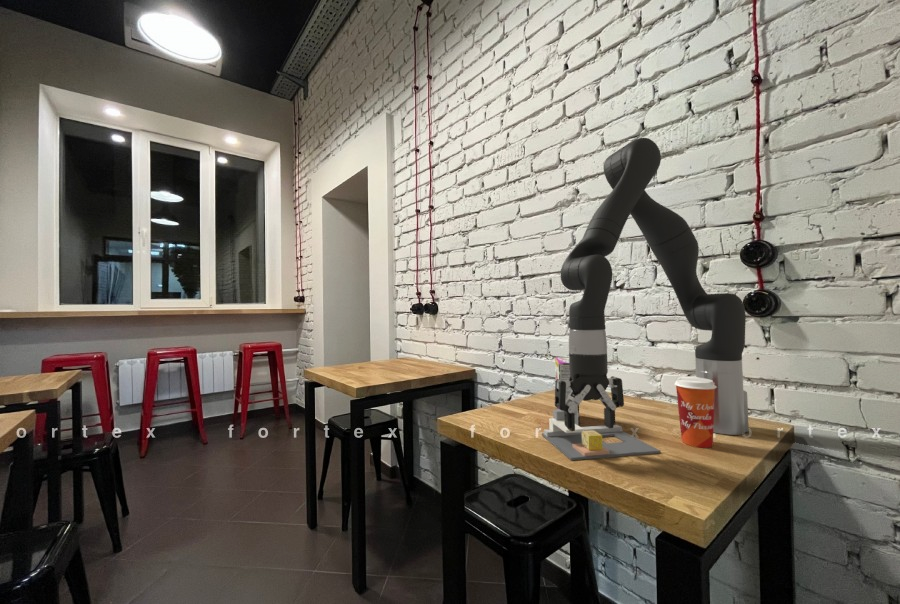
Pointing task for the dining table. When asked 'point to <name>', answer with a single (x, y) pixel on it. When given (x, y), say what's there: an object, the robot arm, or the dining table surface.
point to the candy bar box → (564, 374)
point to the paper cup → (696, 410)
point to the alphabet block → (592, 440)
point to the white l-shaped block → (561, 423)
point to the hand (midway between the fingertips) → (590, 428)
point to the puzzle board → (576, 451)
